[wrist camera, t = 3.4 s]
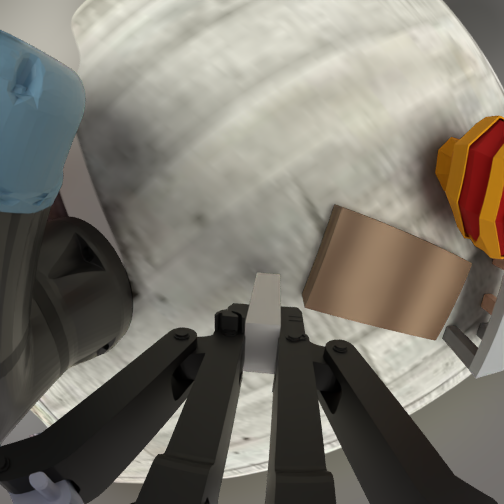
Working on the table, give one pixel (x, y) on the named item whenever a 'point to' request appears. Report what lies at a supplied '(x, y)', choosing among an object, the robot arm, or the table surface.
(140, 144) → the table surface
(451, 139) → the potion bottle
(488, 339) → the shelf
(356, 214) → the panel
